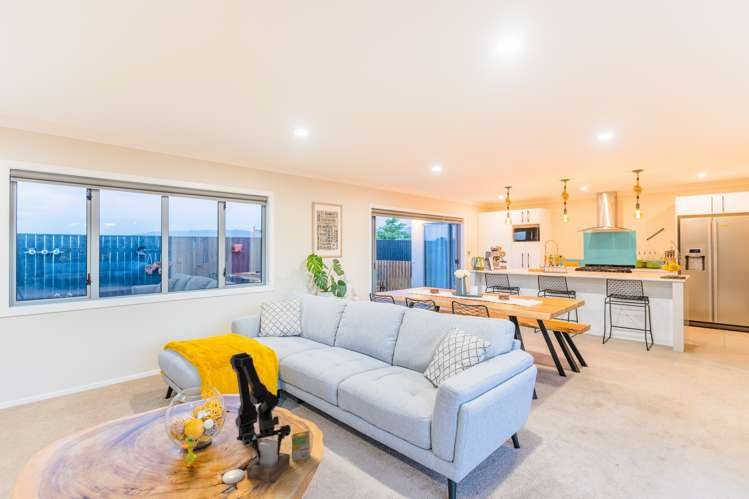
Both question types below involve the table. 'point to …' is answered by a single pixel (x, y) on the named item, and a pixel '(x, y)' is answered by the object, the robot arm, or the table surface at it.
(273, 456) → the skincare box
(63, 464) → the table surface
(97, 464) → the table surface
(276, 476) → the walnut holder block
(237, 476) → the ceramic coaster
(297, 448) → the crayon box
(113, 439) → the table surface
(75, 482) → the table surface
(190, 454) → the toy figure
